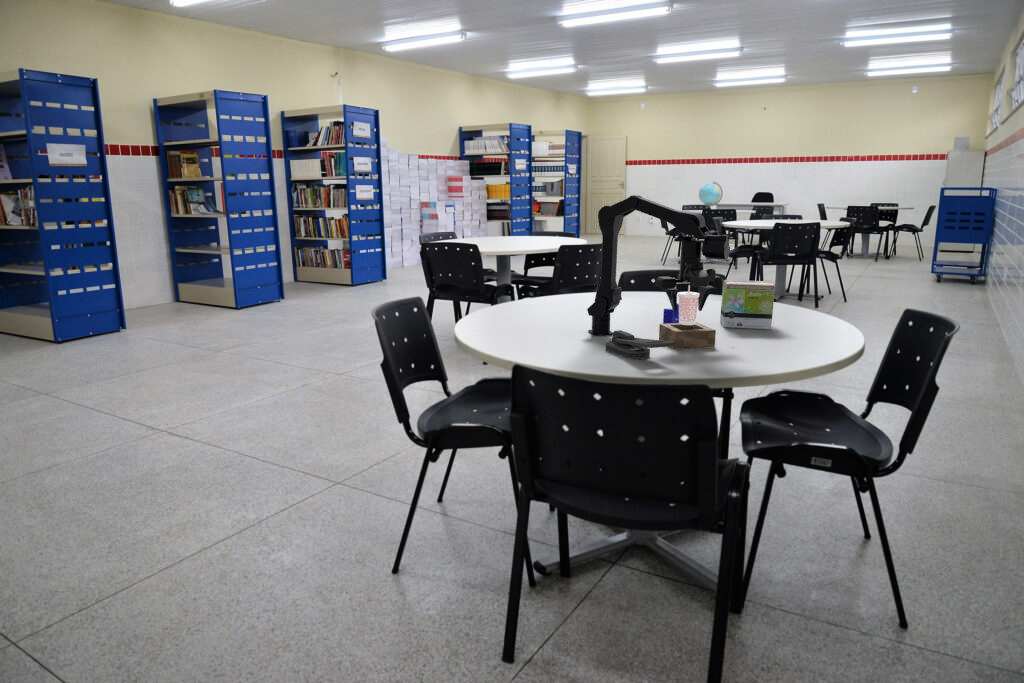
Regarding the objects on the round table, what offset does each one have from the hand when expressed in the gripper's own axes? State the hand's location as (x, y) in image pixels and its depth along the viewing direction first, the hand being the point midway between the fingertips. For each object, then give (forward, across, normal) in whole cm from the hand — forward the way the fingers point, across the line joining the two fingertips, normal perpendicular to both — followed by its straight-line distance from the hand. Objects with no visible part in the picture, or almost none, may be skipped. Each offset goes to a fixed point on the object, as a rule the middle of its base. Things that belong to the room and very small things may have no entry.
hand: (687, 311), depth 198 cm
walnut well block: (+10, 0, 0) cm, 10 cm away
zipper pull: (+10, -20, -12) cm, 25 cm away
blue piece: (+10, +8, +29) cm, 32 cm away
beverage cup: (+4, 0, 0) cm, 4 cm away
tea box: (+10, +30, +19) cm, 37 cm away
